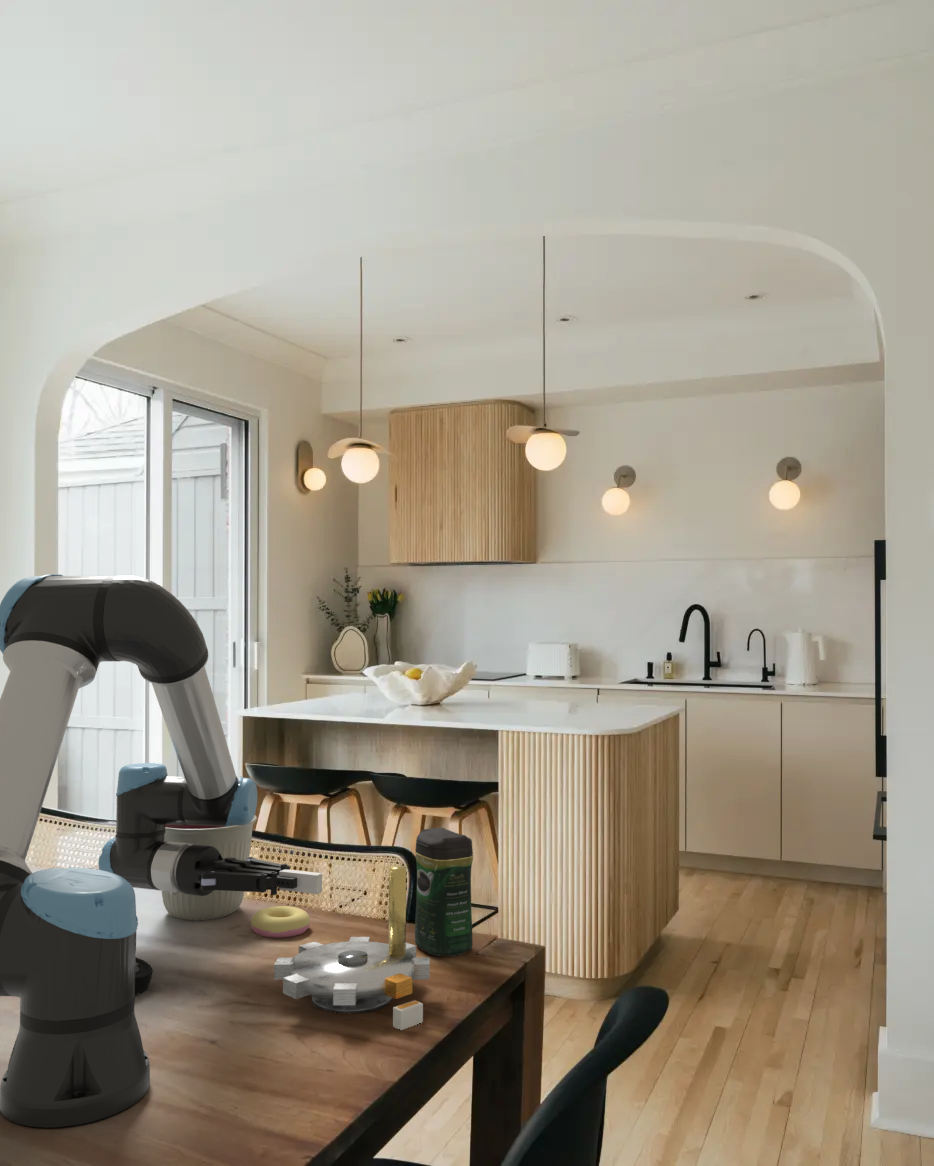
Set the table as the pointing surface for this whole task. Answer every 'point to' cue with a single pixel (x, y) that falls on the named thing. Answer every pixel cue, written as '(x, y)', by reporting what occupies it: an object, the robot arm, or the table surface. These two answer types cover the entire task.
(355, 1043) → the table surface
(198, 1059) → the table surface
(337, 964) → the sprocket
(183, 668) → the robot arm
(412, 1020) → the pointer
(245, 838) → the canister
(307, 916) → the donut
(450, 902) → the coffee jar
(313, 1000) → the disc
